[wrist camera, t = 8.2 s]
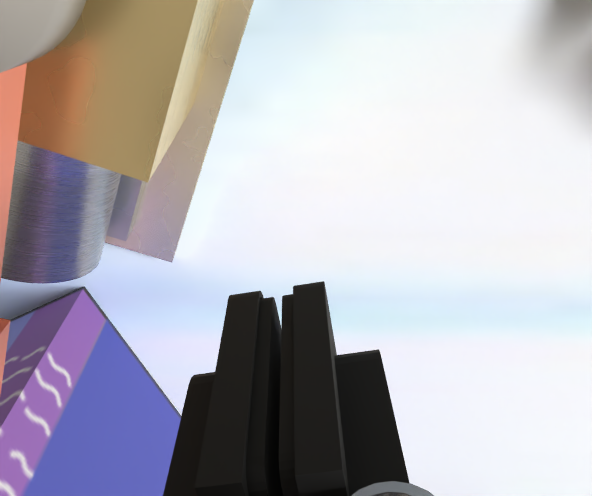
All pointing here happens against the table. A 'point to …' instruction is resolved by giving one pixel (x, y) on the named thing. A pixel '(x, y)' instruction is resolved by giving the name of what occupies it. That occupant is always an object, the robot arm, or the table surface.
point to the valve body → (117, 133)
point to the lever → (10, 86)
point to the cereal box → (80, 408)
